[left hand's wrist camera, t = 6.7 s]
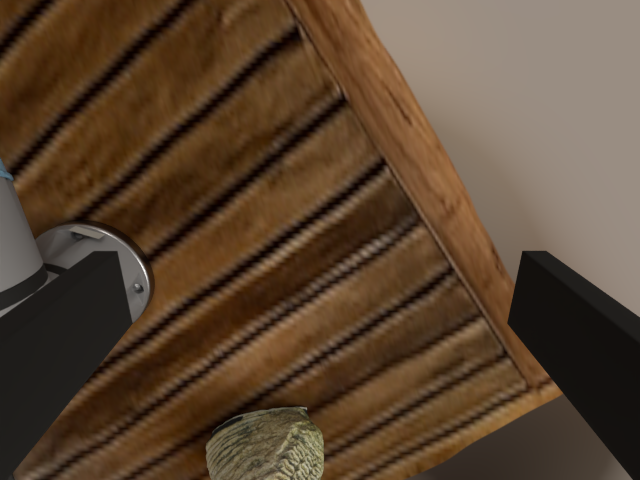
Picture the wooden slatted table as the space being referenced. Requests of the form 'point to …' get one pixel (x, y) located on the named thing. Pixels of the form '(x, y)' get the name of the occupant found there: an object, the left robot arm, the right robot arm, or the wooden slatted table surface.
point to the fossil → (266, 447)
